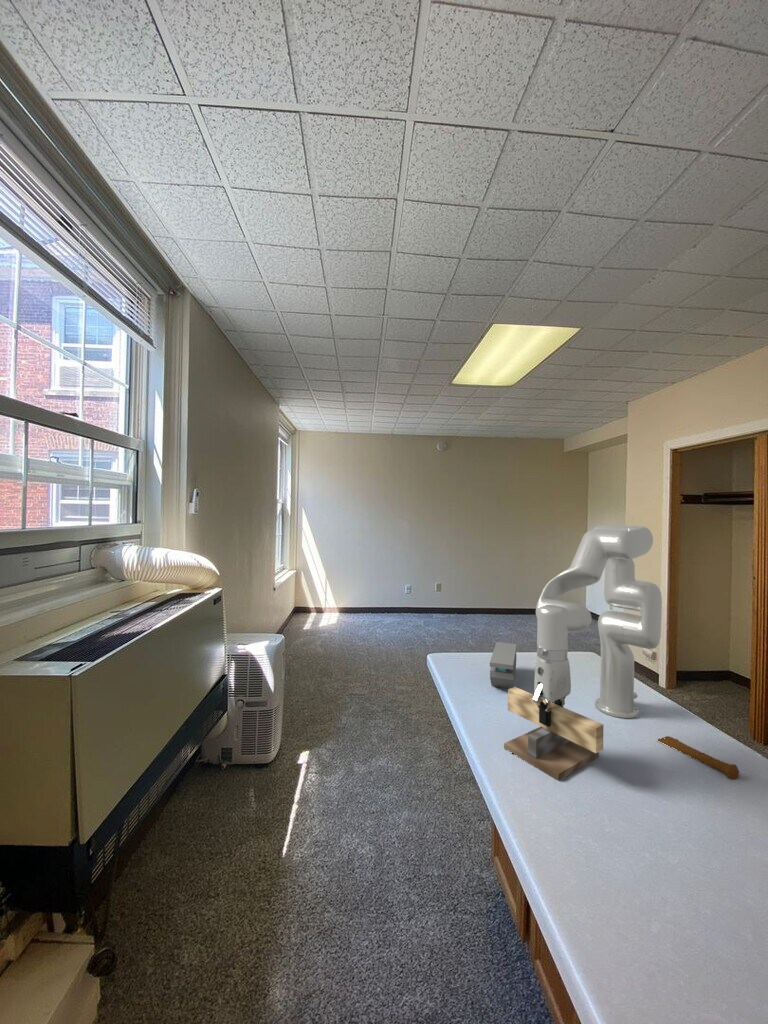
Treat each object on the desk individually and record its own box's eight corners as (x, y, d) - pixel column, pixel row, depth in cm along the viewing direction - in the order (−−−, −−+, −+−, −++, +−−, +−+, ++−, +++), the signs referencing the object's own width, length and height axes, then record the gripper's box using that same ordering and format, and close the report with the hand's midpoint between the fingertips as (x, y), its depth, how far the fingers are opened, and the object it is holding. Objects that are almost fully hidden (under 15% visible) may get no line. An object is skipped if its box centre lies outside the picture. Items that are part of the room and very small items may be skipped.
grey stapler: (496, 668, 171) (496, 641, 171) (516, 671, 169) (516, 644, 169) (489, 693, 148) (489, 662, 148) (512, 696, 145) (513, 665, 145)
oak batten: (603, 749, 102) (603, 724, 102) (596, 753, 100) (596, 728, 100) (514, 707, 123) (515, 686, 123) (507, 710, 122) (507, 689, 122)
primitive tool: (654, 741, 119) (655, 728, 119) (668, 738, 121) (668, 725, 121) (731, 783, 101) (732, 768, 101) (746, 778, 103) (746, 763, 103)
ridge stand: (544, 729, 123) (545, 707, 123) (598, 756, 110) (599, 731, 110) (504, 748, 113) (504, 724, 113) (558, 780, 100) (558, 753, 100)
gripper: (545, 663, 104) (544, 737, 104) (583, 651, 113) (582, 719, 113) (519, 654, 110) (518, 724, 110) (558, 643, 120) (557, 708, 120)
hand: (551, 721), depth 112 cm, fingers open, 4 cm apart
